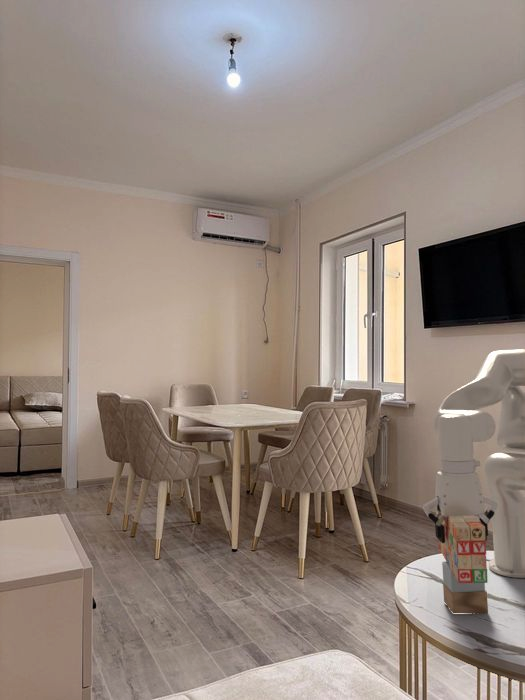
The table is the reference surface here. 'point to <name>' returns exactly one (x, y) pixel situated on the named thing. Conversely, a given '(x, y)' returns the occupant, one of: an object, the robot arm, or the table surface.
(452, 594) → the tower bottom
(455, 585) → the tower top
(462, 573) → the stack of blocks
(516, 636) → the table surface
